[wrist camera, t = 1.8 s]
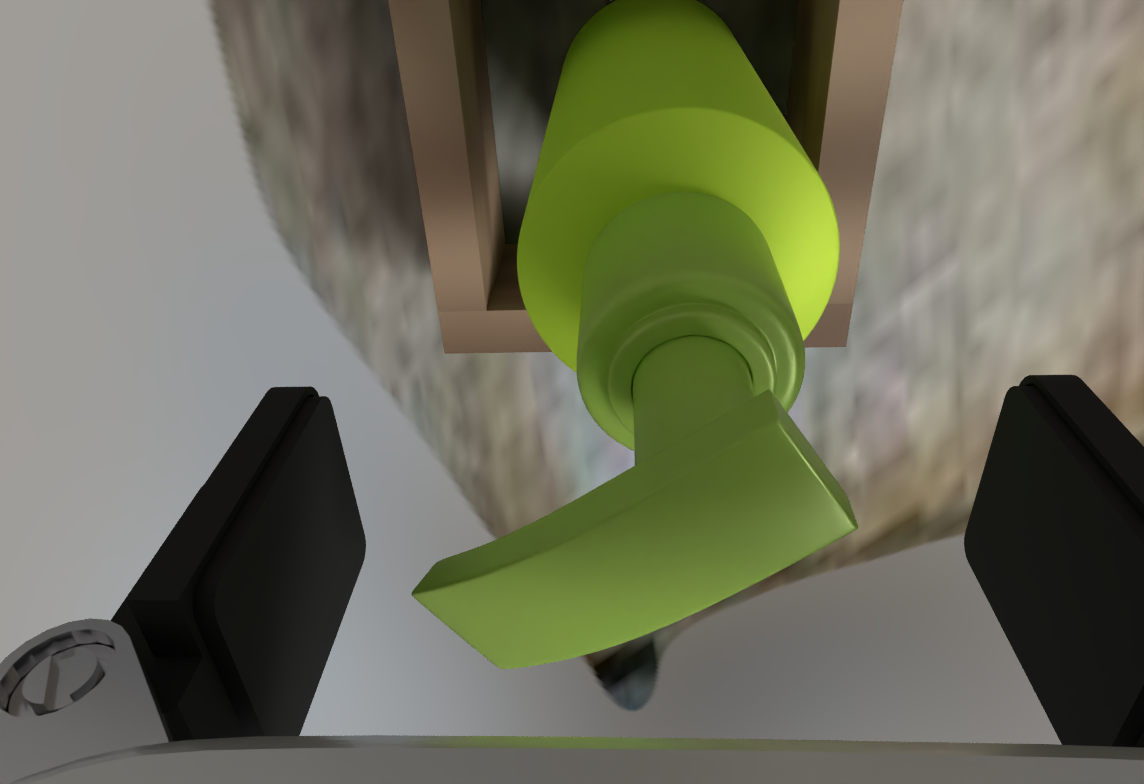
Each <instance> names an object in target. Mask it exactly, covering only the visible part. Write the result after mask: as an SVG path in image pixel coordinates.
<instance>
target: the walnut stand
mask: <svg viewBox="0 0 1144 784" xmlns="http://www.w3.org/2000/svg"><path fill="white" fill-rule="evenodd" d="M388 3H389V9H390V16H391V22H392V28H393V34H394V40H395V47H396V53H397V59H398V65H399V71H400V78H401V84H402V90H403V96H404V103H405V109H406V115H407V121H408V127H409V134H410V140H411V146H412V152H413V159H414V165H415V171H416V177H417V183H418V190H419V196H420V202H421V208H422V214H423V221H424V227H425V233H426V239H427V246H428V252H429V258H430V264H431V270H432V277H433V283H434V289H435V295H436V302H437V308H438V314H439V320H440V326H441V333H442V339H443V345H444V351H445V353H503V352H552V351H551V349H550V348H549V347H548V346H547V345H546V343H545V342H544V341H543V339H542V338H541V337H540V335H539V334H538V332H537V330H536V329H535V327H534V325H533V323H532V321H531V319H530V317H529V315H528V313H527V310H526V308H525V305H524V302H523V299H522V295H521V291H520V287H519V281H518V272H517V249H518V244H505V234H504V224H503V214H502V205H501V195H500V185H499V175H498V166H497V156H496V146H495V136H494V126H493V117H492V107H491V97H490V87H489V77H488V68H487V58H486V48H485V38H484V28H483V19H482V9H481V0H388ZM902 5H903V0H798V7H797V17H796V27H795V37H794V47H793V57H792V67H791V78H790V88H789V98H788V108H787V118H786V122H787V123H788V125H789V127H790V128H791V130H792V131H793V133H794V135H795V136H796V138H797V139H798V141H799V143H800V144H801V146H802V148H803V149H804V151H805V152H806V154H807V156H808V157H809V159H810V161H811V162H812V164H813V165H814V167H815V169H816V170H817V172H818V173H819V175H820V177H821V179H822V180H823V182H824V184H825V186H826V188H827V190H828V192H829V195H830V197H831V200H832V203H833V206H834V209H835V213H836V217H837V221H838V227H839V237H840V255H839V265H838V271H837V276H836V280H835V284H834V287H833V290H832V293H831V296H830V299H829V301H828V303H827V305H826V308H825V310H824V312H823V313H822V315H821V317H820V319H819V320H818V322H817V324H816V325H815V327H814V328H813V330H812V331H811V332H810V334H809V335H808V336H807V337H806V339H805V340H804V341H803V343H804V347H846V342H847V336H848V330H849V324H850V318H851V312H852V306H853V300H854V294H855V288H856V282H857V276H858V270H859V264H860V258H861V252H862V246H863V240H864V234H865V228H866V222H867V216H868V210H869V204H870V198H871V192H872V186H873V180H874V174H875V168H876V162H877V156H878V150H879V143H880V137H881V131H882V125H883V119H884V113H885V107H886V101H887V95H888V89H889V83H890V77H891V71H892V65H893V59H894V53H895V47H896V41H897V35H898V29H899V23H900V17H901V11H902Z"/></svg>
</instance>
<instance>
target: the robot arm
mask: <svg viewBox="0 0 1144 784" xmlns="http://www.w3.org/2000/svg"><path fill="white" fill-rule="evenodd" d="M964 546H965V553H966V557H967V560H968V562H969V564H970V566H971V568H972V570H973V572H974V574H975V576H976V578H977V580H978V582H979V584H980V586H981V588H982V590H983V591H984V594H985V595H986V597H987V599H988V601H989V603H990V605H991V607H992V609H993V611H994V613H995V615H996V617H997V619H998V621H999V623H1000V624H1001V627H1002V628H1003V631H1004V632H1005V634H1006V636H1007V638H1008V640H1009V642H1010V644H1011V646H1012V648H1013V650H1014V652H1015V654H1016V656H1017V658H1018V660H1019V662H1020V663H1021V665H1022V668H1023V669H1024V671H1025V673H1026V675H1027V677H1028V679H1029V681H1030V683H1031V685H1032V687H1033V689H1034V691H1035V692H1036V694H1037V697H1038V699H1039V700H1040V702H1041V704H1042V706H1043V708H1044V710H1045V712H1046V714H1047V716H1048V718H1049V720H1050V722H1051V724H1052V726H1053V728H1054V730H1055V732H1056V734H1057V736H1058V738H1059V740H1060V741H1061V743H1062V745H1050V744H1003V743H1001V744H1000V743H950V742H949V743H948V742H893V741H842V740H839V741H838V740H774V739H701V738H700V739H699V738H696V739H695V738H622V737H619V738H618V737H517V736H516V737H515V736H386V735H385V736H383V735H373V736H299V735H300V733H301V730H302V727H303V724H304V722H305V719H306V716H307V713H308V711H309V708H310V705H311V703H312V700H313V697H314V695H315V692H316V689H317V686H318V684H319V681H320V678H321V676H322V673H323V670H324V667H325V665H326V662H327V659H328V657H329V654H330V651H331V648H332V646H333V643H334V640H335V638H336V635H337V632H338V630H339V627H340V624H341V621H342V619H343V616H344V613H345V611H346V608H347V605H348V602H349V600H350V597H351V594H352V592H353V588H354V586H355V583H356V581H357V578H358V575H359V573H360V570H361V567H362V565H363V561H364V557H365V549H366V540H365V535H364V530H363V526H362V522H361V518H360V515H359V510H358V506H357V503H356V498H355V495H354V491H353V487H352V483H351V479H350V475H349V471H348V467H347V463H346V459H345V455H344V451H343V447H342V443H341V439H340V435H339V431H338V427H337V423H336V419H335V416H334V411H333V407H332V404H331V401H330V400H329V398H328V397H326V396H322V397H319V395H318V392H317V391H316V390H315V389H314V388H313V387H274V388H271V389H270V390H268V392H267V393H266V394H265V396H264V397H263V399H262V400H261V402H260V403H259V405H258V406H257V408H256V409H255V411H254V412H253V414H252V415H251V416H250V418H249V419H248V421H247V423H246V424H245V425H244V427H243V428H242V430H241V431H240V433H239V434H238V436H237V437H236V439H235V440H234V442H233V443H232V445H231V446H230V447H229V449H228V450H227V452H226V453H225V455H224V456H223V458H222V459H221V461H220V462H219V464H218V465H217V467H216V468H215V470H214V471H213V472H212V474H211V475H210V477H209V479H208V480H207V481H206V483H205V484H204V485H203V486H202V487H201V489H200V490H199V491H198V493H197V494H196V496H195V497H194V499H193V500H192V502H191V503H190V505H189V506H188V508H187V509H186V511H185V512H184V513H183V515H182V517H181V518H180V519H179V521H178V522H177V524H176V525H175V527H174V528H173V530H172V531H171V533H170V534H169V535H168V537H167V539H166V540H165V541H164V543H163V544H162V546H161V547H160V549H159V550H158V552H157V553H156V555H155V556H154V558H153V559H152V561H151V562H150V564H149V565H148V566H147V568H146V569H145V571H144V572H143V574H142V575H141V577H140V578H139V580H138V581H137V583H136V584H135V586H134V587H133V588H132V590H131V592H130V593H129V594H128V596H127V597H126V599H125V600H124V602H123V603H122V605H121V606H120V608H119V609H118V610H117V612H116V613H115V615H114V616H113V618H112V619H111V621H109V620H102V619H101V620H100V619H85V620H79V621H73V622H68V623H65V624H63V625H60V626H57V627H55V628H52V629H49V630H46V631H45V632H43V633H41V634H39V635H37V636H36V637H34V638H32V639H30V640H28V641H26V642H25V643H24V644H22V645H21V646H20V647H19V648H17V649H16V650H15V651H13V652H12V653H11V654H10V655H8V656H7V657H6V658H5V659H4V660H3V661H2V662H1V664H0V784H1144V447H1143V445H1142V444H1141V443H1140V442H1139V441H1138V440H1137V439H1136V438H1135V437H1134V436H1133V435H1132V434H1131V433H1130V431H1129V430H1128V429H1127V428H1126V427H1125V426H1124V425H1123V424H1122V423H1121V422H1120V421H1119V420H1118V418H1117V417H1116V416H1115V415H1114V414H1113V413H1112V412H1111V411H1110V410H1109V409H1108V408H1107V407H1106V405H1105V404H1104V403H1103V402H1102V401H1101V400H1100V399H1099V398H1098V397H1097V396H1096V395H1095V394H1094V393H1093V391H1092V390H1091V389H1090V388H1089V387H1088V386H1087V385H1086V384H1085V383H1084V382H1083V381H1082V380H1081V379H1080V378H1079V377H1077V376H1076V375H1029V376H1027V377H1025V378H1024V379H1023V380H1022V381H1021V383H1020V385H1019V386H1013V387H1011V388H1010V389H1009V390H1008V391H1007V393H1006V396H1005V399H1004V402H1003V406H1002V409H1001V412H1000V416H999V419H998V423H997V426H996V430H995V433H994V436H993V440H992V443H991V447H990V450H989V453H988V457H987V460H986V464H985V467H984V471H983V474H982V477H981V481H980V484H979V488H978V491H977V494H976V498H975V501H974V505H973V508H972V512H971V515H970V518H969V522H968V525H967V529H966V532H965V537H964Z"/></svg>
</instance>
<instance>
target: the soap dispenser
mask: <svg viewBox="0 0 1144 784" xmlns="http://www.w3.org/2000/svg"><path fill="white" fill-rule="evenodd" d="M839 255H840V237H839V227H838V221H837V217H836V213H835V209H834V206H833V203H832V200H831V197H830V195H829V192H828V190H827V188H826V186H825V184H824V182H823V180H822V179H821V177H820V175H819V173H818V172H817V170H816V169H815V167H814V165H813V164H812V162H811V161H810V159H809V157H808V156H807V154H806V152H805V151H804V149H803V148H802V146H801V144H800V143H799V141H798V139H797V138H796V136H795V135H794V133H793V131H792V130H791V128H790V127H789V125H788V123H787V122H786V120H785V118H784V117H783V115H782V114H781V112H780V110H779V109H778V107H777V105H776V104H775V102H774V101H773V99H772V97H771V96H770V94H769V93H768V91H767V89H766V88H765V86H764V84H763V83H762V81H761V80H760V78H759V76H758V75H757V73H756V71H755V70H754V68H753V67H752V65H751V63H750V62H749V60H748V59H747V57H746V55H745V54H744V52H743V50H742V49H741V47H740V46H739V44H738V42H737V41H736V39H735V37H734V36H733V34H732V33H731V31H730V30H729V28H728V27H727V25H726V24H725V23H724V22H723V21H722V19H721V18H720V17H719V16H718V15H717V14H716V13H714V12H713V11H712V10H711V9H709V8H708V7H707V6H705V5H704V4H702V3H700V2H699V1H697V0H616V1H614V2H612V3H610V4H609V5H607V6H605V7H604V8H603V9H601V10H600V11H599V12H597V13H596V14H595V15H594V16H593V17H592V18H591V19H590V20H589V21H588V22H587V23H586V24H585V25H584V26H583V27H582V29H581V30H580V31H579V33H578V34H577V36H576V37H575V39H574V40H573V42H572V44H571V46H570V48H569V50H568V53H567V55H566V58H565V61H564V64H563V68H562V72H561V75H560V79H559V83H558V87H557V91H556V95H555V98H554V102H553V106H552V110H551V114H550V118H549V122H548V125H547V129H546V133H545V137H544V141H543V145H542V149H541V152H540V156H539V160H538V164H537V168H536V172H535V175H534V179H533V183H532V187H531V191H530V195H529V199H528V202H527V206H526V210H525V214H524V218H523V222H522V226H521V230H520V235H519V241H518V249H517V272H518V281H519V287H520V291H521V295H522V299H523V302H524V305H525V308H526V310H527V313H528V315H529V317H530V319H531V321H532V323H533V325H534V327H535V329H536V330H537V332H538V334H539V335H540V337H541V338H542V339H543V341H544V342H545V343H546V345H547V346H548V347H549V348H550V349H551V351H552V352H553V353H554V354H555V355H556V356H557V357H558V358H559V359H560V360H561V361H562V362H564V363H565V364H566V365H567V366H568V367H569V368H571V369H572V370H573V371H575V372H576V373H577V380H578V385H579V389H580V393H581V396H582V399H583V401H584V404H585V406H586V408H587V410H588V411H589V413H590V415H591V416H592V418H593V419H594V420H595V422H596V423H597V424H598V425H599V426H600V427H601V429H602V430H603V431H605V432H606V433H607V434H608V435H609V436H610V437H612V438H613V439H614V440H616V441H617V442H619V443H620V444H622V445H623V446H625V447H627V448H629V449H631V450H633V451H635V466H634V467H632V468H630V469H629V470H627V471H625V472H623V473H622V474H620V475H618V476H616V477H615V478H613V479H611V480H609V481H608V482H606V483H604V484H602V485H601V486H599V487H597V488H595V489H594V490H592V491H590V492H588V493H587V494H585V495H583V496H581V497H580V498H578V499H576V500H574V501H573V502H571V503H569V504H567V505H565V506H564V507H562V508H560V509H558V510H556V511H554V512H552V513H551V514H549V515H547V516H545V517H543V518H541V519H539V520H537V521H535V522H533V523H531V524H529V525H527V526H525V527H523V528H521V529H519V530H517V531H515V532H513V533H510V534H508V535H506V536H504V537H502V538H499V539H497V540H495V541H492V542H490V543H487V544H485V545H482V546H480V547H477V548H474V549H472V550H469V551H466V552H463V553H460V554H457V555H454V556H451V557H448V558H446V559H443V560H441V561H438V562H437V563H436V564H435V565H434V566H433V567H432V568H431V569H430V571H429V572H428V573H427V574H426V575H425V577H424V578H423V579H422V580H421V581H420V583H419V584H418V585H417V587H416V588H415V589H414V590H413V592H412V596H413V597H414V598H415V599H416V600H417V601H418V602H420V603H421V604H422V605H423V606H424V607H425V608H427V609H428V610H429V611H430V612H431V613H433V614H434V615H435V616H436V617H437V618H438V619H440V620H441V621H442V622H443V623H444V624H446V625H447V626H448V627H449V628H450V629H452V630H453V631H454V632H455V633H456V634H458V635H459V636H460V637H461V638H462V639H464V640H465V641H466V642H467V643H468V644H470V645H471V646H472V647H473V648H475V649H476V650H477V651H478V652H479V653H481V654H482V655H483V656H484V657H486V658H487V659H488V660H489V661H490V662H492V663H493V664H494V665H496V666H497V667H499V668H502V669H513V668H522V667H528V666H535V665H541V664H546V663H551V662H556V661H561V660H566V659H569V658H574V657H578V656H582V655H586V654H589V653H593V652H596V651H600V650H603V649H606V648H609V647H612V646H615V645H618V644H621V643H624V642H627V641H630V640H632V639H635V638H638V637H640V636H643V635H646V634H648V633H651V632H653V631H655V630H658V629H660V628H663V627H665V626H667V625H670V624H672V623H674V622H677V621H679V620H681V619H683V618H685V617H688V616H690V615H692V614H694V613H696V612H698V611H700V610H702V609H705V608H707V607H709V606H711V605H713V604H715V603H717V602H719V601H721V600H723V599H725V598H727V597H729V596H731V595H733V594H735V593H737V592H739V591H741V590H743V589H745V588H747V587H749V586H751V585H753V584H755V583H757V582H759V581H761V580H763V579H765V578H766V577H768V576H770V575H772V574H774V573H776V572H778V571H780V570H782V569H784V568H786V567H788V566H789V565H791V564H793V563H795V562H797V561H799V560H801V559H803V558H805V557H807V556H808V555H810V554H812V553H814V552H816V551H818V550H820V549H822V548H823V547H825V546H827V545H829V544H831V543H833V542H835V541H837V540H838V539H840V538H842V537H844V536H846V535H848V534H850V533H851V532H853V531H855V530H856V529H857V528H858V525H857V522H856V519H855V516H854V513H853V511H852V508H851V505H850V502H849V499H848V497H847V495H846V493H845V492H844V490H843V489H842V488H841V486H840V485H839V483H838V482H837V481H836V479H835V478H834V477H833V475H832V474H831V472H830V471H829V470H828V468H827V467H826V466H825V464H824V463H823V461H822V460H821V459H820V457H819V456H818V455H817V453H816V452H815V450H814V449H813V448H812V446H811V445H810V444H809V442H808V441H807V439H806V438H805V437H804V435H803V434H802V433H801V431H800V430H799V428H798V427H797V426H796V424H795V423H794V422H793V420H792V419H791V417H790V416H789V415H788V411H789V410H790V408H791V407H792V405H793V403H794V402H795V400H796V398H797V395H798V393H799V391H800V388H801V385H802V381H803V377H804V370H805V349H804V343H803V341H804V340H805V339H806V337H807V336H808V335H809V334H810V332H811V331H812V330H813V328H814V327H815V325H816V324H817V322H818V320H819V319H820V317H821V315H822V313H823V312H824V310H825V308H826V305H827V303H828V301H829V299H830V296H831V293H832V290H833V287H834V284H835V280H836V276H837V271H838V265H839Z"/></svg>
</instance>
